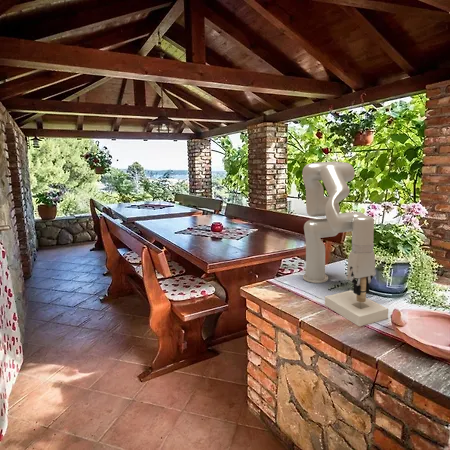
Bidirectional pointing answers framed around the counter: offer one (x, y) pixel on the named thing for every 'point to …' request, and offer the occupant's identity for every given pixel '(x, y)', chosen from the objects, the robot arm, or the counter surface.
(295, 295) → the counter surface
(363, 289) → the beech peg
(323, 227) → the robot arm
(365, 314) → the peg board
